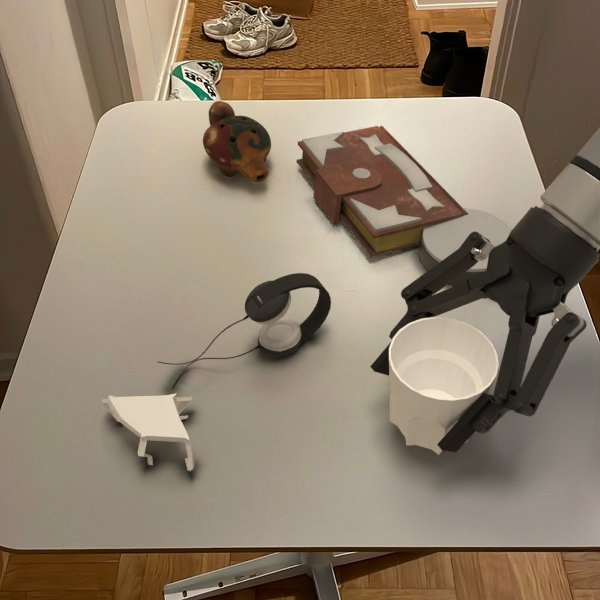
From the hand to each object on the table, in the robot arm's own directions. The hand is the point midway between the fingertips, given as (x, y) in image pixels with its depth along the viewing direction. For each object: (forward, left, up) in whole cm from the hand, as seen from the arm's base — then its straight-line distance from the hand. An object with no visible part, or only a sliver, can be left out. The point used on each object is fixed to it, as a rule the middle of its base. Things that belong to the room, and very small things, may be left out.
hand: (411, 408), depth 71 cm
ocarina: (+51, -12, -6) cm, 53 cm away
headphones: (+19, +7, -6) cm, 21 cm away
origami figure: (+16, +21, -6) cm, 27 cm away
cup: (0, -3, -4) cm, 5 cm away
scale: (+17, -25, -6) cm, 31 cm away
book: (+33, -23, -6) cm, 41 cm away
